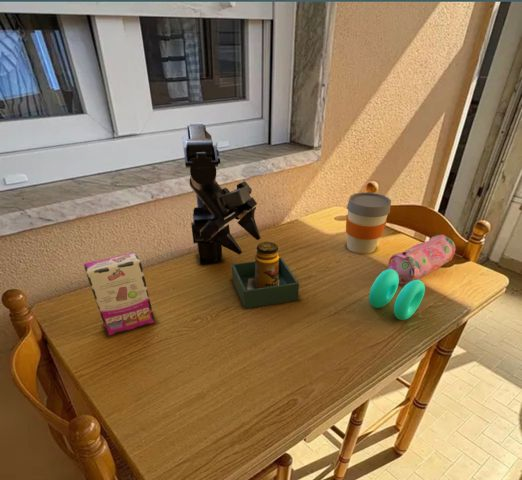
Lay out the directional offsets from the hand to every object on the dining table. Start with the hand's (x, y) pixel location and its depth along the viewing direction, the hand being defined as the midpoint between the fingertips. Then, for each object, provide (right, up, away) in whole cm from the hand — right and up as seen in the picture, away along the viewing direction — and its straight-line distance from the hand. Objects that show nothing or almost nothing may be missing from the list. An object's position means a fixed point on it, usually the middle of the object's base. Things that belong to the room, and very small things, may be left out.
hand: (250, 246), depth 96 cm
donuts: (+35, -17, -1) cm, 39 cm away
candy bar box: (-29, -20, -6) cm, 35 cm away
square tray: (+3, -10, +6) cm, 12 cm away
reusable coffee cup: (+35, +6, +25) cm, 43 cm away
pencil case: (+48, -4, +13) cm, 49 cm away
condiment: (+3, -10, +5) cm, 12 cm away
